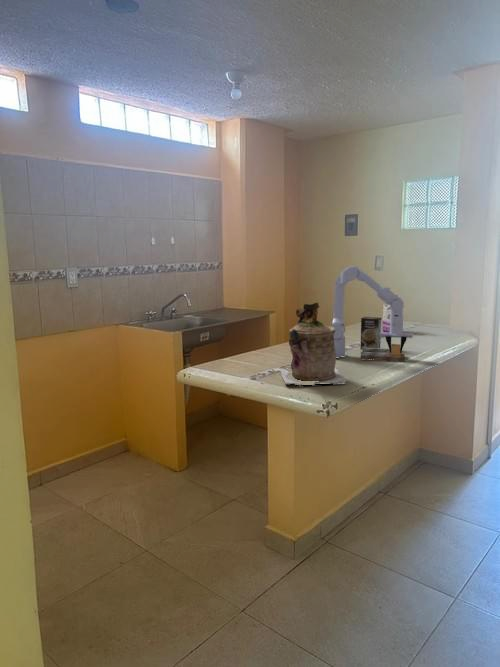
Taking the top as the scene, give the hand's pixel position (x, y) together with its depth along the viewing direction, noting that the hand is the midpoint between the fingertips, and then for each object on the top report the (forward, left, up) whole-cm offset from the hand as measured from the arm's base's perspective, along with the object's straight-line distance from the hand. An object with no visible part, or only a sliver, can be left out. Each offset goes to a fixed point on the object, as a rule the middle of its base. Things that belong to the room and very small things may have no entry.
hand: (395, 352), depth 230 cm
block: (0, 0, -1) cm, 1 cm away
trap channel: (-4, +5, -3) cm, 7 cm away
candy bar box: (+50, +42, -3) cm, 65 cm away
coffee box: (+8, +22, -3) cm, 23 cm away
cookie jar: (-51, +2, -3) cm, 51 cm away
